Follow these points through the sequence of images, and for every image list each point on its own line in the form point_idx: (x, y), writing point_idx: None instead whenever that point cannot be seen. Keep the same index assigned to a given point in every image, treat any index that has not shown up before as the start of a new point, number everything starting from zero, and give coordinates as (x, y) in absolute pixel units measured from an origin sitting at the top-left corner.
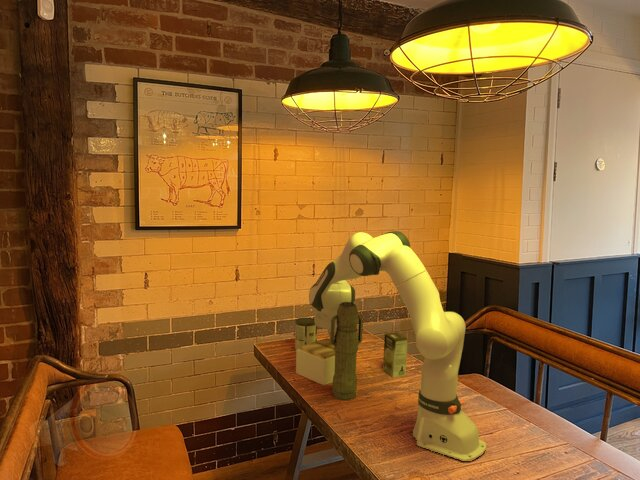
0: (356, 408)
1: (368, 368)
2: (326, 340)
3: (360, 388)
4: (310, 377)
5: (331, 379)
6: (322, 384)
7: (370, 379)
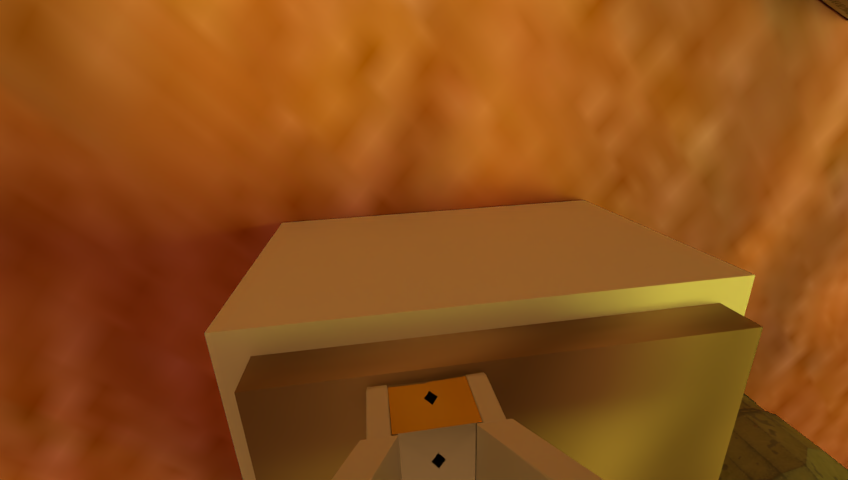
0: None
1: (617, 23)
2: (334, 462)
3: None
4: None
5: None
6: None
7: (724, 185)
